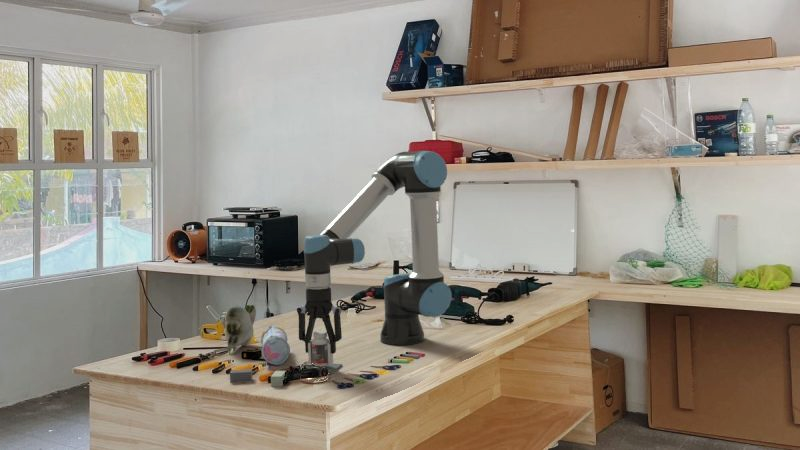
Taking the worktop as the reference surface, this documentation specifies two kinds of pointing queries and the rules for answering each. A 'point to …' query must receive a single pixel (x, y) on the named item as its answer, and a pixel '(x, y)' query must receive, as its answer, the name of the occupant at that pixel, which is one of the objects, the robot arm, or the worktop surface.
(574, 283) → the worktop surface
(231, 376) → the charcoal brick
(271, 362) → the pencil case
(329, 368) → the slate mat
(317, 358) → the pill bottle
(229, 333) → the toy
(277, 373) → the sage brick
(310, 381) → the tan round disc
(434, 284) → the robot arm
